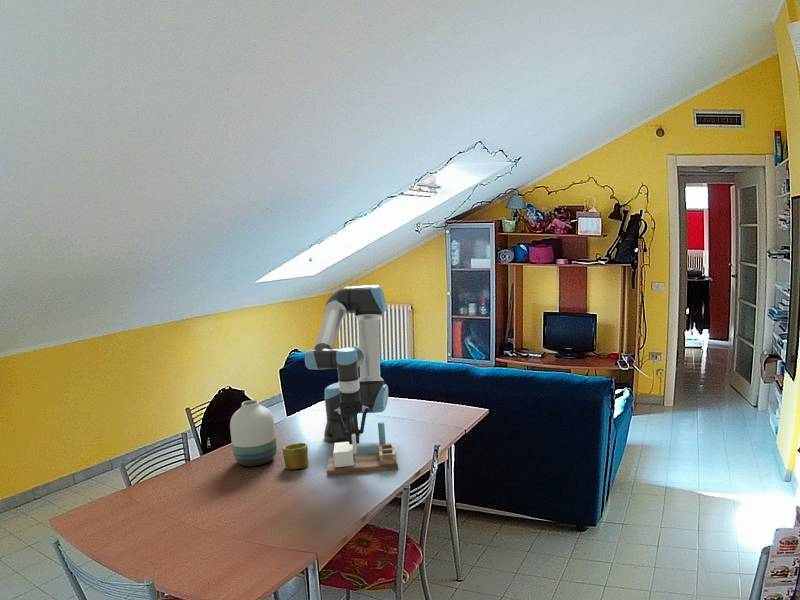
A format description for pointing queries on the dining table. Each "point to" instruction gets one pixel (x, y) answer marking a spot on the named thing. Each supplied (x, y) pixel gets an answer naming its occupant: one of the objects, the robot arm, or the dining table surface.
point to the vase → (253, 434)
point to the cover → (343, 454)
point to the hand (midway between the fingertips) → (355, 451)
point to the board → (368, 462)
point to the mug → (295, 456)
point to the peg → (381, 433)
